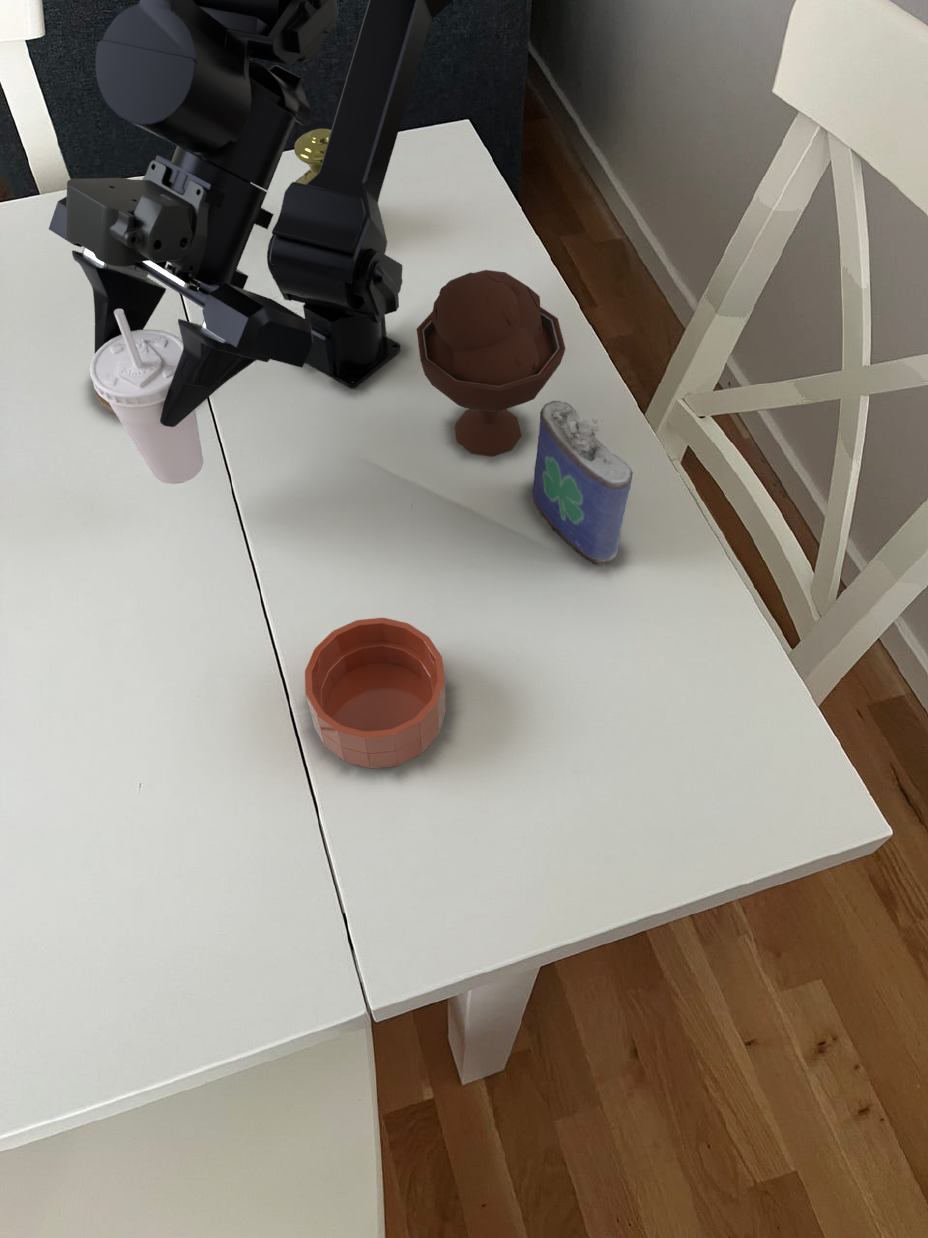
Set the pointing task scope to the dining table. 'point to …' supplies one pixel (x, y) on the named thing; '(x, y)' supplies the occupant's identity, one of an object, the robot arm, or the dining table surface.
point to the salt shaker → (311, 151)
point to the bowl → (376, 692)
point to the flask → (579, 484)
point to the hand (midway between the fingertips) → (133, 402)
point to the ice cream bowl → (489, 354)
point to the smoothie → (148, 398)
